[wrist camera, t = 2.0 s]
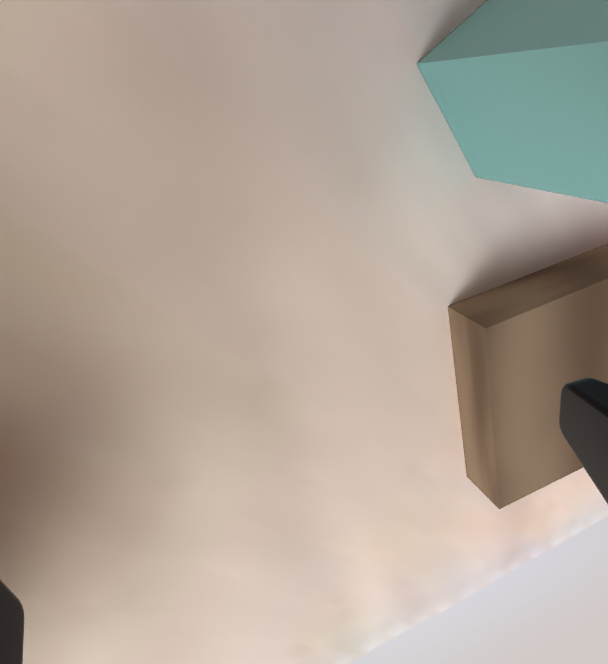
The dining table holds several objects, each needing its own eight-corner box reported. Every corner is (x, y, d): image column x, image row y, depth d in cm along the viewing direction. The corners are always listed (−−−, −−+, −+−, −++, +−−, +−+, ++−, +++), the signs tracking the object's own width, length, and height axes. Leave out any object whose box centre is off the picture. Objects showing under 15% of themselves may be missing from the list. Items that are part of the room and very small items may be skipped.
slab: (461, 471, 28) (499, 509, 25) (442, 303, 23) (486, 328, 21) (612, 400, 30) (661, 428, 28) (621, 233, 26) (681, 248, 23)
